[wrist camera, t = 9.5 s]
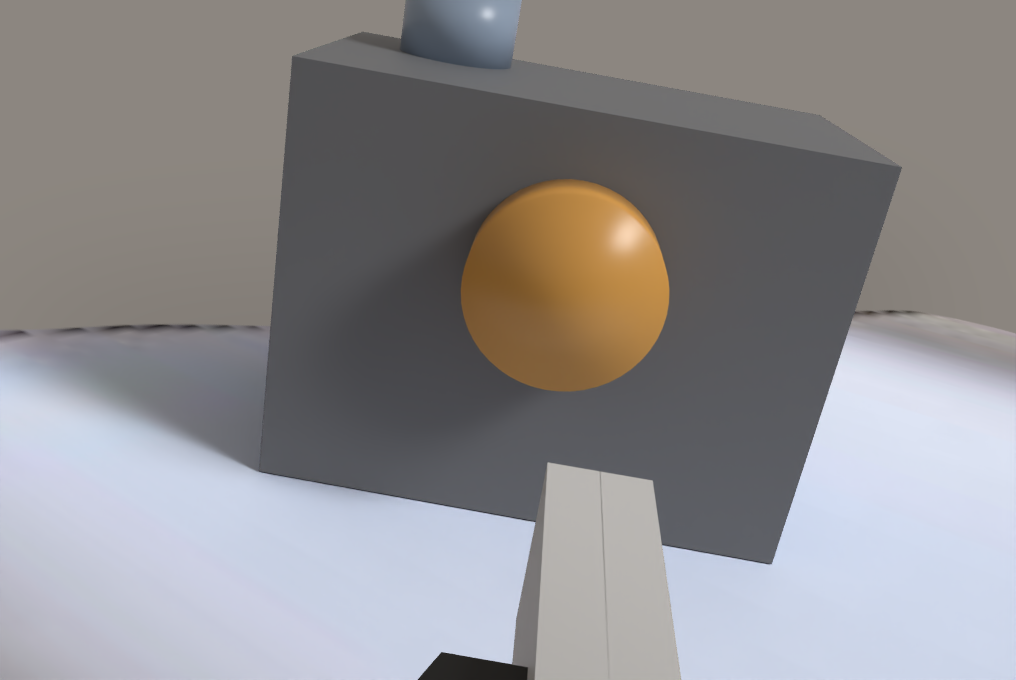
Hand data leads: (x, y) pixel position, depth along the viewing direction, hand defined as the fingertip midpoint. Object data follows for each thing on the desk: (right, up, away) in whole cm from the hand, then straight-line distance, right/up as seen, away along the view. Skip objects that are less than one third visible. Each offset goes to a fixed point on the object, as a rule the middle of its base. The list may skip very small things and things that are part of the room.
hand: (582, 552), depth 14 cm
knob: (0, +3, +18) cm, 19 cm away
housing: (0, -1, +24) cm, 24 cm away
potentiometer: (-3, +13, +20) cm, 24 cm away
